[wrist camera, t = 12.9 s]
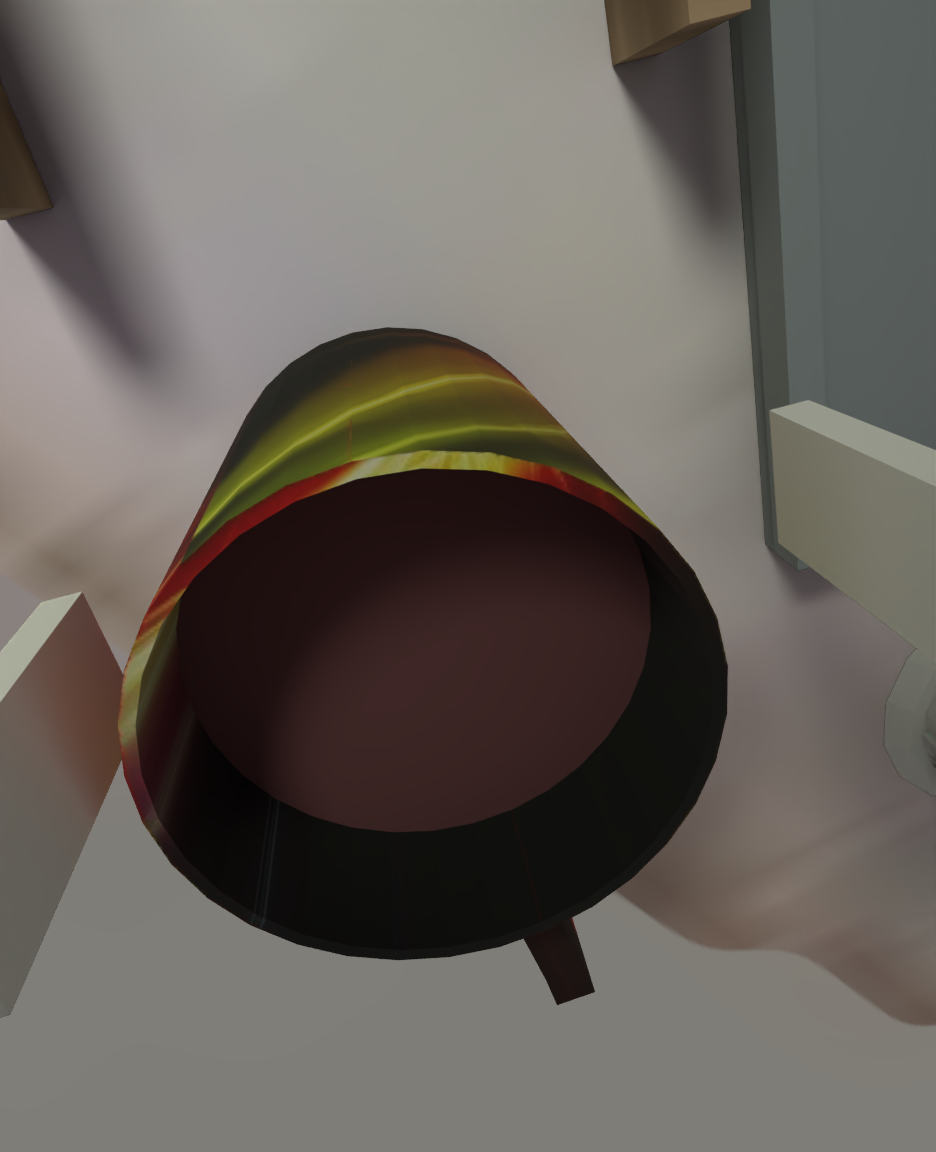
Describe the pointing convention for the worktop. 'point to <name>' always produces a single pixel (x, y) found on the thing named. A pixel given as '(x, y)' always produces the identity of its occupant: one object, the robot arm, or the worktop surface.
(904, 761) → the french press
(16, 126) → the wooden frame
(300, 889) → the mug
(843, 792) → the worktop surface
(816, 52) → the tray
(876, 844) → the worktop surface
